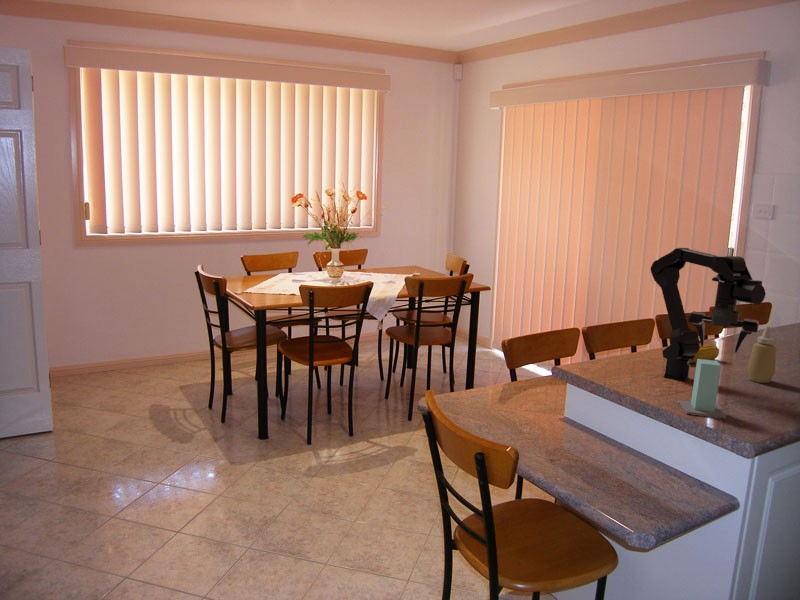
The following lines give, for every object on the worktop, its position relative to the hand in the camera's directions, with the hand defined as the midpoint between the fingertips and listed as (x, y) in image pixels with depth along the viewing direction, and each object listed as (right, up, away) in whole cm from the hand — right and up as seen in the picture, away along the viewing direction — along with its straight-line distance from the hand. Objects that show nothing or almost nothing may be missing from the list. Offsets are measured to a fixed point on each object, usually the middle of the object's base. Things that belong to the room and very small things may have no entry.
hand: (718, 349), depth 201 cm
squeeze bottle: (+21, -12, +17) cm, 30 cm away
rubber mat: (-13, -16, -17) cm, 26 cm away
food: (+10, -7, +37) cm, 39 cm away
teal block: (-13, -15, -17) cm, 26 cm away
